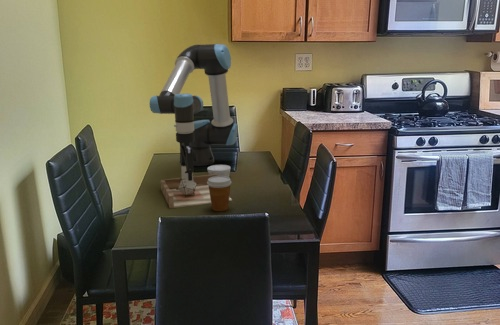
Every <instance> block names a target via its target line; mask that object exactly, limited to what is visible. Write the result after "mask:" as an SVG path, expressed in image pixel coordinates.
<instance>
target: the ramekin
mask: <svg viewBox="0 0 500 325" xmlns="http://www.w3.org/2000/svg"><path fill="white" fill-rule="evenodd" d="M206 169H207V173H208V175H212V174H217V176H226V177H229V178H230V173H231V169H232V168H231V166H230V165H227V164H212V165H210V166H208V167H207V168H206Z"/></svg>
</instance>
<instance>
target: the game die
mask: <svg viewBox="0 0 500 325" xmlns="http://www.w3.org/2000/svg"><path fill="white" fill-rule="evenodd" d="M179 178H180V179H181V181H180V184H179V187H178V189H176V190H180V191H181V192H182V193H183V194H184V195H185V197H186V195H189V194H195V193H194V191H195V188H196V185H197V184H199V183H196V182H195V181H193V186H194V188H187V183H186V178H184V179H182V177H179Z"/></svg>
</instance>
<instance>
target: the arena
mask: <svg viewBox="0 0 500 325" xmlns="http://www.w3.org/2000/svg"><path fill="white" fill-rule="evenodd" d="M215 176H217V174H212V175H209V174H204V175H193V181H195V182H196V183H199V184H197V185H196V188H195V191H194V193H195V194H189V195H186V197H185V195H184V194H183V193H182V192H181V191H180V190H176V189H178V187H179V184H180V181H181V179H180V178H181V177H175V178H167V179H166V178H164V179H160V190H161V191H160V192H161V193H162V194H163V197H164V199H165V201H166V204H168V207H169V209H175V208H176V209H177V208H183V207H184V208H185V207H192V206H200V205H208V204H211V198H210V192H209V186H208V184H207V182H208V179H209V178H211V177H215ZM229 202H233V199H232V198H231V196H229Z"/></svg>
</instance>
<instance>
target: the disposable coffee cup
mask: <svg viewBox="0 0 500 325" xmlns="http://www.w3.org/2000/svg"><path fill="white" fill-rule="evenodd" d="M232 183H233V182H232V180H231V178H230V176H229V177H226V176H215V177H211V178H209V179H208V182H207V184H208V186H209V192H210V198H211V203H210V204H211V209H212V210H213V211H215V212H224V211H228V209H229V204H230V201H229V197H230V195H231V194H230V192H231V186H232Z"/></svg>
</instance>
